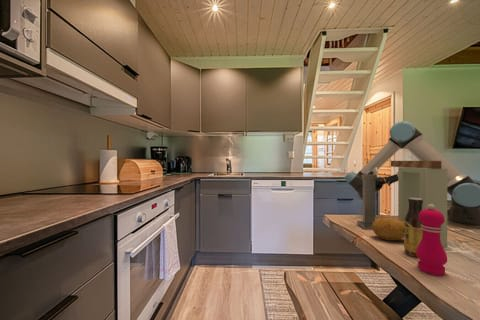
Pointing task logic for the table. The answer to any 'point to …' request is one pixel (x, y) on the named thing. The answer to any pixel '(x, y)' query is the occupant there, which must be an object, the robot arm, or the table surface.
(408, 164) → the walnut bar
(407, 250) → the sauce bottle
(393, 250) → the table surface
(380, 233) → the potato
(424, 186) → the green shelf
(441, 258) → the pepper mill
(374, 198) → the ridge pillar
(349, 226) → the table surface
